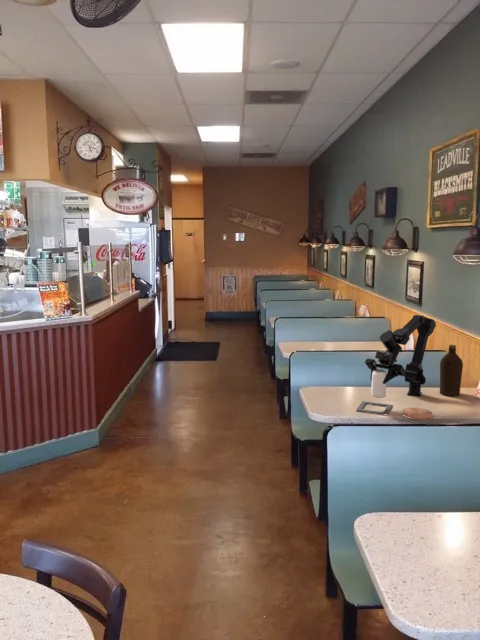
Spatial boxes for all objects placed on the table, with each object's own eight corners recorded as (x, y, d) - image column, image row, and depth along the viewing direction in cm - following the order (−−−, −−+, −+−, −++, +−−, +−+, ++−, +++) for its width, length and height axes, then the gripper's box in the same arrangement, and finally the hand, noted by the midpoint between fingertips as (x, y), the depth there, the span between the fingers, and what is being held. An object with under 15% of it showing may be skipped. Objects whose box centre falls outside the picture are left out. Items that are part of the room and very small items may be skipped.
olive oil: (464, 397, 266) (467, 347, 262) (442, 396, 267) (444, 347, 263) (456, 390, 277) (459, 343, 273) (435, 390, 278) (438, 342, 273)
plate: (404, 408, 250) (404, 406, 250) (433, 412, 245) (434, 409, 245) (399, 417, 239) (399, 414, 238) (430, 421, 233) (431, 418, 233)
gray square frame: (362, 402, 260) (362, 401, 260) (392, 406, 254) (392, 404, 254) (356, 411, 247) (356, 409, 247) (387, 415, 241) (387, 414, 241)
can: (386, 398, 244) (387, 372, 243) (371, 397, 245) (372, 371, 244) (384, 394, 251) (386, 369, 249) (370, 393, 252) (371, 368, 250)
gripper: (367, 341, 254) (353, 368, 248) (403, 347, 240) (388, 376, 235) (376, 354, 260) (362, 381, 255) (411, 361, 247) (397, 390, 241)
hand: (377, 382), depth 246 cm, fingers closed on can, 6 cm apart
